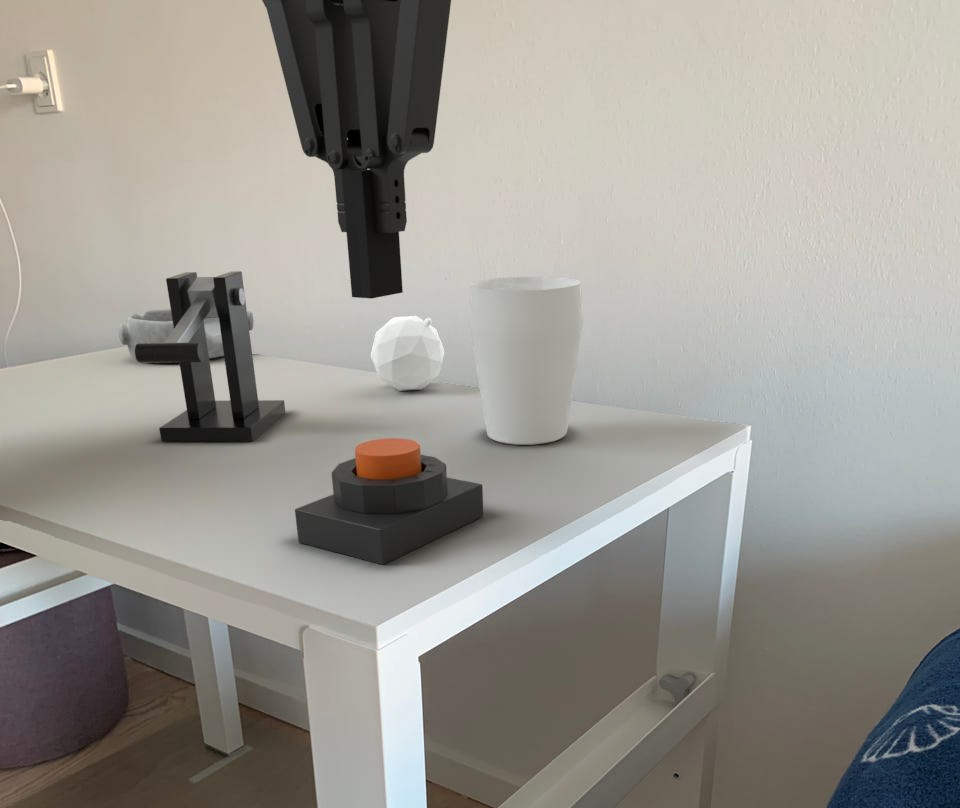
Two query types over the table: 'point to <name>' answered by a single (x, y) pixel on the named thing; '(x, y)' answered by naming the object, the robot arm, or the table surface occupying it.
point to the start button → (388, 458)
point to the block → (388, 512)
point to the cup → (526, 355)
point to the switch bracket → (244, 410)
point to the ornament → (407, 353)
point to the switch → (184, 328)
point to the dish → (168, 330)
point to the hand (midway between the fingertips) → (377, 294)
